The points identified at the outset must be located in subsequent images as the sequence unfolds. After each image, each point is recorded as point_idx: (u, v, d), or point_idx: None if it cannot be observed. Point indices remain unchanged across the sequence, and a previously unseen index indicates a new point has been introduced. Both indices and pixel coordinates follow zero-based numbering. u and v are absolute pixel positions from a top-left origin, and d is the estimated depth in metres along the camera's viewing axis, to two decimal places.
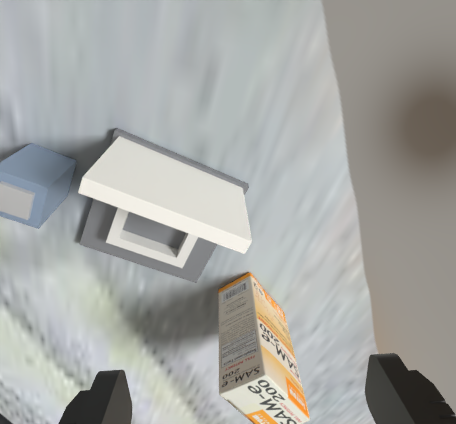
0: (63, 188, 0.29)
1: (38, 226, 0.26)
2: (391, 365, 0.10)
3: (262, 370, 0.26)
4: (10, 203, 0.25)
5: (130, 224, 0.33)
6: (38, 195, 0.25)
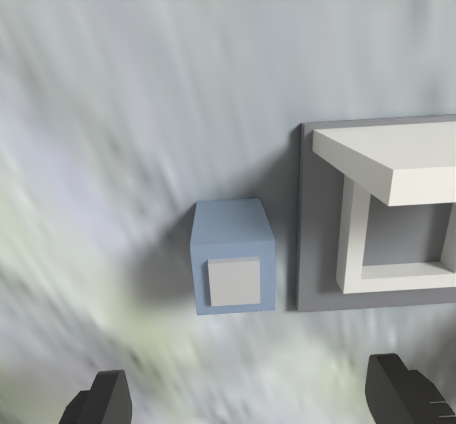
0: None
1: (274, 306, 0.17)
2: (391, 365, 0.10)
3: None
4: (231, 288, 0.16)
5: None
6: (264, 258, 0.15)
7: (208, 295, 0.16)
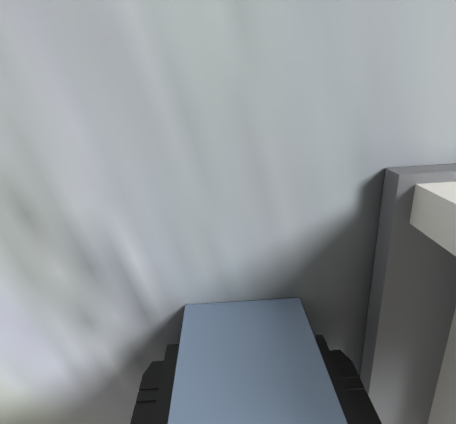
0: None
1: None
2: None
3: None
4: None
5: None
6: None
7: None
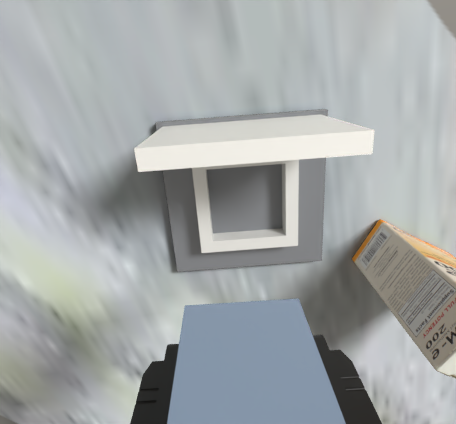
0: None
1: None
2: None
3: None
4: None
5: (218, 223, 0.28)
6: None
7: None
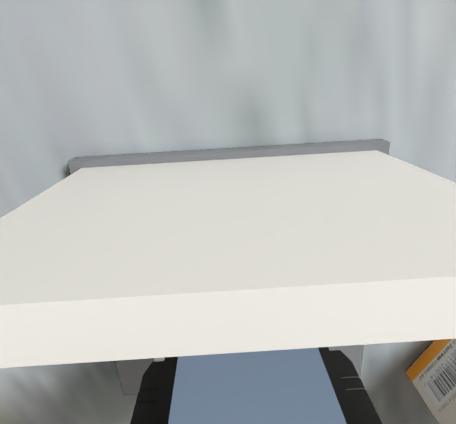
0: None
1: None
2: None
3: None
4: None
5: None
6: None
7: None
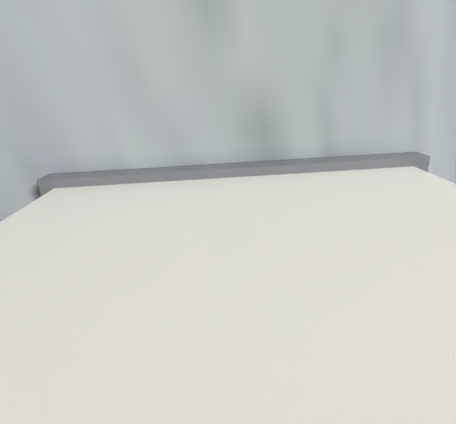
0: None
1: None
2: None
3: None
4: None
5: None
6: None
7: None
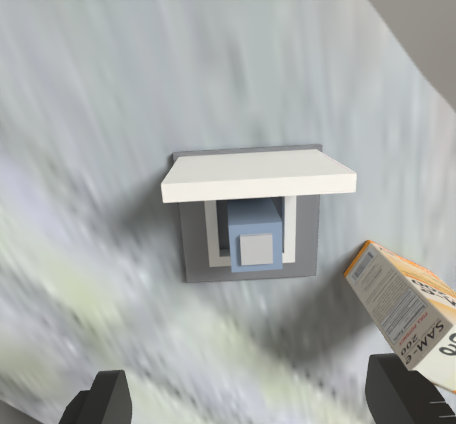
0: None
1: (281, 266, 0.25)
2: (391, 365, 0.10)
3: (447, 322, 0.21)
4: (254, 253, 0.25)
5: (224, 240, 0.31)
6: (275, 233, 0.24)
7: (239, 258, 0.25)
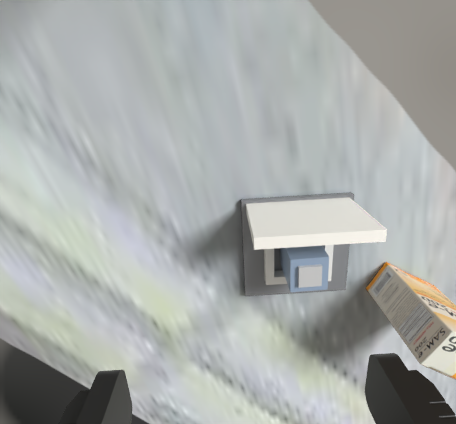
0: None
1: (327, 287, 0.35)
2: (391, 365, 0.10)
3: (447, 329, 0.30)
4: (308, 278, 0.34)
5: (276, 264, 0.41)
6: (323, 265, 0.34)
7: (296, 282, 0.35)
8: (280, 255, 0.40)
